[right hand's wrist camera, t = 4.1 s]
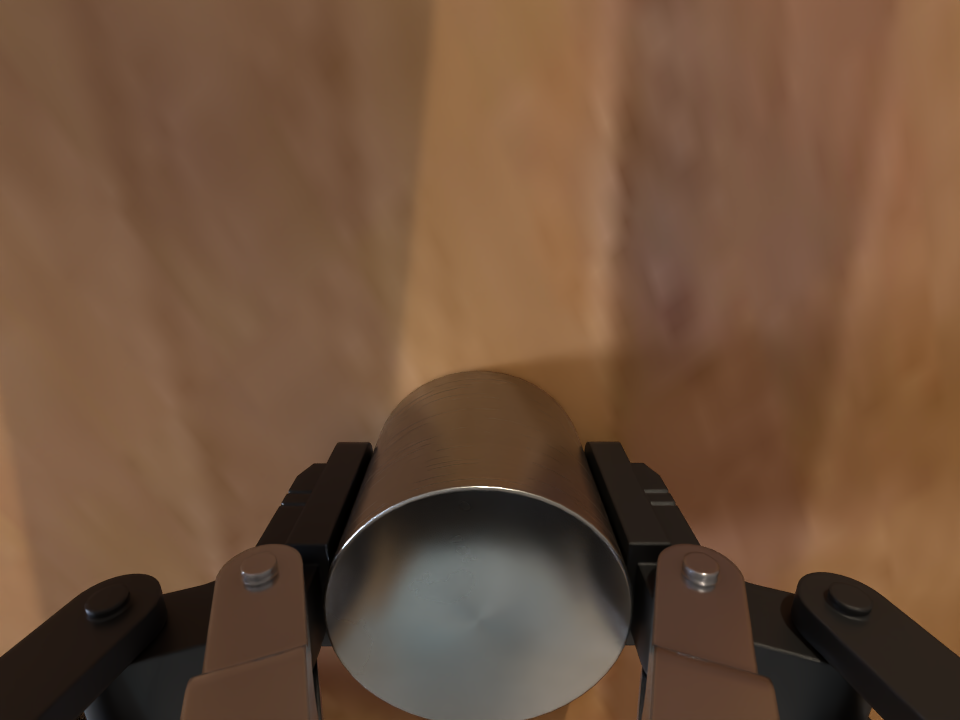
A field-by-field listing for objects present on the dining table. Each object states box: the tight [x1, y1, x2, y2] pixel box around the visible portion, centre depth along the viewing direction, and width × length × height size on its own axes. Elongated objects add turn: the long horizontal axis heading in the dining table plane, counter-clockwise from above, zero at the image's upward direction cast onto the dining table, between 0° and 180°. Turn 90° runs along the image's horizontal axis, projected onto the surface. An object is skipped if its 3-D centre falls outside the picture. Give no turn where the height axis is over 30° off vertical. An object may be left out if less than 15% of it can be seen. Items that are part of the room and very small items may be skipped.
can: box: [323, 371, 634, 720], centre depth 10 cm, size 5×5×5 cm
